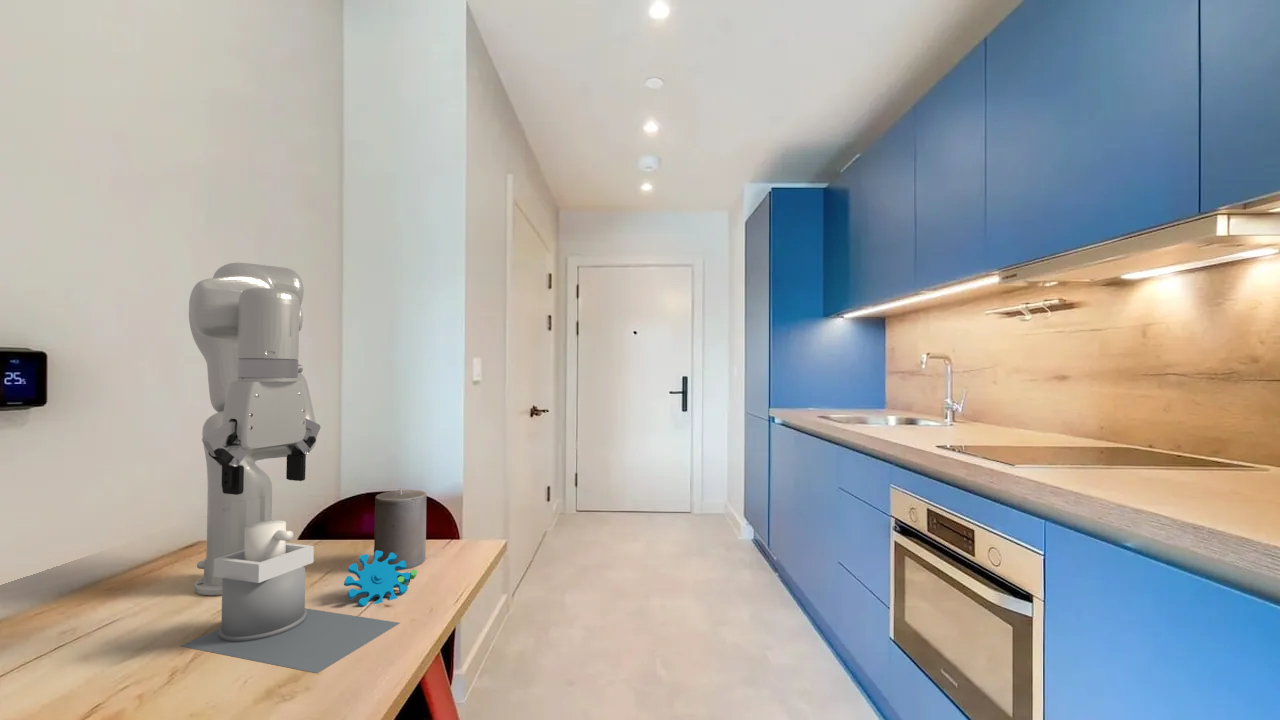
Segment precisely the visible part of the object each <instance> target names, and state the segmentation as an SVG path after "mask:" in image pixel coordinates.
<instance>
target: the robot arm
mask: <svg viewBox="0 0 1280 720" xmlns="http://www.w3.org/2000/svg"><path fill="white" fill-rule="evenodd" d="M304 295H305V294H304V284H303V279H302V278H301V276H300V275H299V274H298V273H297V271H295V270H293V269H292V268H288V267H283V266H273V265H266V264H256V263H248V262H230V263H227V264H224V265H222V266H220V267H219V268H217V270H216V271H215V272H214V274H213V277H211V278H205V279H202V280H200V281H198V282H197V283H196V284H195V285H194V286H193V288H192V290H191V292H190V296H189V302H188V321H189V326H190V327H189V328H190V332H191V335H192V339H193V340H194V343H195V345H196V346H197V348H198V350H199V352H200V353H201V355H202V357H204V358H203V359H204V360H205V363H206V368H207V379H208V391H209V392H208V393H209V399H210V403H211V407H212V408H213V409H214V410H215V412H217V413H214V414H212V415H211V416H209V417H208V418H206V420H205V422H204V424H203V427H202V434H201V435H202V436H201V437H202V439H201V442H202V443H203V450H204V455H205V456H204V457H205V461H206V473H207V474H206V475H207V477H206V478H207V508H206V509H207V511H206V512H207V515H206V517H207V519H206V555H205V556H206V557H205V558H204V559H203V560H199V561H198V562H197V564H196V568H197V569H199V570H203V577H201V578H200V579H198V580H197V581H196V582H195V583H194V592H195V593H196V594H199V595H204V596H222V578H219V577H214V559H216V558H219V557H222V556H225V555H229V554H232V553H235V552H238V551H242V550H244V547H245V527H246V526H248V525H250V524H254V523H258V522H264V521H273V520H272V519H273V518H272V517H273V514H272V513H273V511H272V510H273V509H272V508H273V484H272V480H271V478H270V477H269V475H268V474H267V473H266V472H265V471H264V470H263V469H261V468H260V467H259V466H258V465H257V464H256V462H257V461H262V460H267V459H280V458H286V468H285V469H286V470H285V471H286V473H285V474H286V477H285V478H286V480H288V481H295V482H296V481H297V482H298V481H299V482H302V481H305V480H306V463H307V462H306V459H307V455H309V454H310V453H311V451H313V449H314V447H315V446H316V444H317V440H318V439H317V437H318V434H319V432H320V429H321V425H320V424H319V423H317V422H316V419H315V414H314V413H315V412H314V409H313V404H312V399H311V395H310V390H309V387H308V386H309V385H308V383H307V380H306V378H305V376H304V374H303V373H302V372H303V370H304V367H303V365H302V364H299V353H300V352H299V348H300V347H299V346H300V344H299V343H300V340H299V339H300V337H299V336H300V331H302V327H303V322H304V319H303V318H304V316H303V310H302V307H301V306H302V303H303V298H304Z"/></svg>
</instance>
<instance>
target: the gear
mask: <svg viewBox="0 0 1280 720" xmlns="http://www.w3.org/2000/svg"><path fill="white" fill-rule="evenodd" d="M382 555H383V552H382V551H377V550H376V551H375V553H374V552H373V561H372V562H371V564H369V563H368V560H369V556H370V555H369V554H368V553H367V554H366V553H365V554H362V555H360V556H359V559H358V561H359V563H360V564H361V565H362V570H358V568H359V567H358V564H357V563H355V562H354V563H352V564H351V565H349V567H348V568H347V571H348V573H350V574H354V575H355V576H356V577H357V580H355V579H354V577H353V576H351V575H347V576H345V580H344V582H343V586H344V587H345V586H346V587H349V586H350V587H351V586H355V587H357V588H360V589H355V588H350V589H349V590H348V591H347V596H348V597H347V598H348V599H349V600H353V599H355V598H356V597H357V596H360V595H367V596H366V597H361V598H360V599H358V603H357V605H358V606H359V607H366V606H367V605H368V603H369V601H371V600H372V599H373V598H375V597H377V598H378V599H377V600H376V601H374V603H373V604H374V605H377V604H381V603H384V600H383V598H384V597H385V595H389V599H388V601H392V600H396V599H398V595H396V594H395V591H394V588H395V589H396V588H397V589H398V594H399V595H404V594H405V593H406V592H407V591H408V589H409V585H410V583H411V580H414V579H415V578H416V576H417V574H418V571H417V569H412V570H411V571H407V572H399V571H403V570H406V569H405V568H406V562H405V560H402V561H400V562H399V563H397V564H394V565H389V564H388V562H393V561H395V560H396V557H397V556H396V554H394V553H393V552H391V553H390V554H389V556H388V558H387V559H386V560H384V561H383V562H378V559H380V558H381V557H382ZM396 568H398V569H400V570H399V571H398V570H395V569H396Z"/></svg>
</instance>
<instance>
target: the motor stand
mask: <svg viewBox="0 0 1280 720" xmlns="http://www.w3.org/2000/svg"><path fill="white" fill-rule="evenodd" d="M314 552H315V548H314V545H307V544H300V543H299V544H298V543H290V542H286V554H283V555H280V556H277V557H274V558H271V559H268V560H265V561H262V562H254V561H246V560H244V550H242V551H238V552H235V553H232V554H229V555H225V556H222V557H219V558H216V559H214V577H219V578H222V595H221V626H220V627H219V628H218V629H216V630H214V631H211V632H209V633H206V634H204V635H201V636H200V637H197V638H194V639H192V640H189V641H188V642H186V643H183V644H180V645H179V647H183V648H188V649H193V650H198V651H203V652H207V653H211V654H217V655H223V656H227V657H233V658H238V659H243V660H246V661H247V660H248V661H253V662H256V663H257V662H258V663H263V664H267V665H274V666H277V667H284V668H288V669H293V670H299V671H304V672H307V673H313V674H319V673H320V672H323V671H324V670H325V669H327V668H329V667H330V666H332V665H334V664H336V663H337V662H339V661H341V660H343V659H344V658H345V657H347V656H349V655H350V654H352V653H354V652H355V651H357V650H358V649H360V648H362V647H364V646H366V645H367V644H368V643H370V642H372V641H373V640H375V639H377V638H378V637H379V636H382V635H383V634H385V633H386V632H388V631H390V630H392V629H393V628H395V627H396V626H399V625H400V624H401V622H396V621H391V620H383V619H378V618H373V617H372V618H371V617H364V616H358V615H351V614H345V613H338V612H331V611H327V610H326V611H325V610H318V609H312V608H307V607H306V603H305V601H306V598H305V597H306V595H305V593H306V566H308V565H310V564H313V563H314V555H315V554H314Z"/></svg>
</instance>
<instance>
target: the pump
mask: <svg viewBox="0 0 1280 720" xmlns="http://www.w3.org/2000/svg"><path fill="white" fill-rule="evenodd" d="M293 538H294V532H293V531H291V530H287V521H285V520H276V519H275V520H272V521H264V522H258V523H254V524H250V525H248V526H246V527H245V547H244V560H246V561H254V562H262V561H265V560H268V559H271V558H274V557H277V556H280V555H283V554H286V543H287V542H289V541H291V540H292V539H293Z"/></svg>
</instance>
